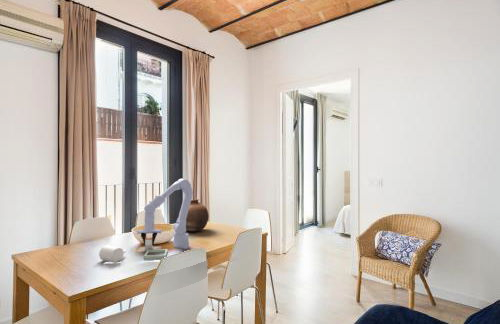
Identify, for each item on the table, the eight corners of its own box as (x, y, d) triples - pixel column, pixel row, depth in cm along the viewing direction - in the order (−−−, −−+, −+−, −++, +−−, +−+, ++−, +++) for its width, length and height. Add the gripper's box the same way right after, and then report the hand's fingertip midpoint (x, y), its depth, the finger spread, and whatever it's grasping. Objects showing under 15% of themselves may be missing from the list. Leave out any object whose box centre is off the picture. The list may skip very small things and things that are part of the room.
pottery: (205, 234, 223) (206, 201, 223) (175, 234, 223) (176, 201, 223) (210, 227, 246) (210, 197, 245) (182, 227, 246) (183, 197, 246)
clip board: (161, 247, 188) (161, 241, 188) (159, 252, 178) (159, 246, 178) (138, 248, 186) (138, 242, 185) (135, 253, 176) (135, 246, 176)
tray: (167, 253, 178) (167, 249, 178) (165, 259, 166) (165, 255, 166) (147, 253, 176) (147, 249, 176) (143, 260, 164) (143, 256, 164)
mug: (111, 264, 157) (111, 250, 157) (98, 261, 161) (98, 247, 161) (129, 258, 168) (129, 244, 168) (117, 255, 172) (117, 241, 172)
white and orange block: (152, 248, 184) (153, 236, 184) (151, 249, 180) (152, 238, 180) (146, 248, 183) (146, 237, 183) (145, 250, 179) (145, 238, 179)
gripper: (162, 221, 187) (162, 243, 187) (138, 222, 184) (138, 243, 184) (160, 224, 180) (160, 246, 180) (136, 224, 177) (135, 246, 178)
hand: (149, 245), depth 182 cm, fingers closed on white and orange block, 4 cm apart
